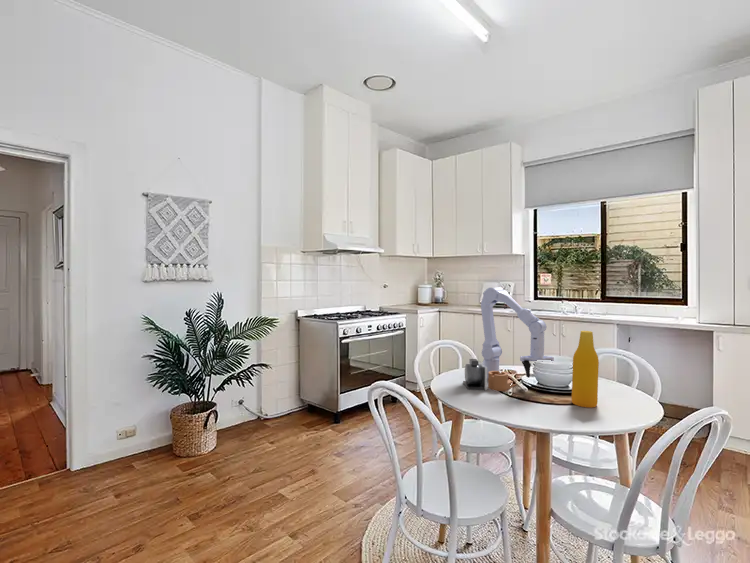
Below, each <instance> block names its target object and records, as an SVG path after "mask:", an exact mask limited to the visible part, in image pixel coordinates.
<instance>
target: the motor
mask: <svg viewBox="0 0 750 563" xmlns="http://www.w3.org/2000/svg"><path fill="white" fill-rule="evenodd" d="M462 384H463V385H464V386H465V387H466V389H467V390H469V391H470V390H471V391H472V390H475V391H476V390H478V391H480V390H482V391H483V390H484V391H487V390H488V379H487V367H486V366H485V365H484V364H483V361H480V360H478V359H477V358H469V362H468V363H466V364H465V366H464V380H463V382H462Z"/></svg>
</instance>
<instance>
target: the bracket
mask: <svg viewBox="0 0 750 563" xmlns="http://www.w3.org/2000/svg"><path fill="white" fill-rule="evenodd" d="M508 376H509V373H508V372H506V371H501V372H500V370H499V371H489V372H488V379H487V389H489V390H493V391H496V392H504V391H507V390H510V389H512V388H514V387H515V386H517V384H518V383H517V384H513V385H511V383H512V382H513V381H511V380H510V379H509V380H508ZM510 385H511V386H510Z"/></svg>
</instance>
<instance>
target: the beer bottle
mask: <svg viewBox="0 0 750 563" xmlns="http://www.w3.org/2000/svg"><path fill="white" fill-rule="evenodd" d="M593 333H594V332H593V331H592V330H591V331H590V330H580V333H579V341H578V346H577V348H576V349H575V352H574V354H573V355H572V356H573V357H572V377H571V378H572V379H571V380H572V381H571V402H572V404H573V405H575V406H578V407H581V408H591V409H592V408H595V407H597V405H598V402H599V401H598V400H599V397H598V394H599V392H598V391H599V369H600V368H599V365H600V360H599V356H598V353H597V351H596V349H595V344H594V334H593Z"/></svg>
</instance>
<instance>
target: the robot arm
mask: <svg viewBox="0 0 750 563" xmlns="http://www.w3.org/2000/svg"><path fill="white" fill-rule="evenodd" d="M482 294H483V296H482V299H481V302H480V310H481V317H482V319H481V320H482V325H483V326H482V327H483V328H482V329H483V335H484V341H483V344H482V349H481V356H482V357H483V361H482V363H483V364H484V365H485V366H486V367H487V380H488V372H489V371H499V372H500V357H501V356H502V354H503V349H502V348H501V346H500V341H499V340H498V339H497V334H496V332H497V331H496V325H495V324H496V323H495V318H494V316H495V315H494V309H493V308H494V306H495V305H496V304H497V303H498V302H500V303H505V305H507V306H508V307H509V308H511V310H513V311H514V312H515V313H516V314H517V318H518V319H519V320H520V321H521V322H522V323H523V324H525V326H526V327H527V328H528V330H529V332H530V350H529V354H530V355H520V357H519V360H520V362H521V363H522V365H523V367H524V370H525V375H526V377H527V378H529V379H530V377H531V376H530V375H531V365H532V364H531V363H530V362H538V361H537V360H551V361H554V362H555V358H554V357H553V356H548V355H547V356H546V355H545V332H546V330H547V324H546V322H545V321H544V320H543V319H540V318H539V317H537V316H536V315H534V314H533V312H532V310H531V309H530V308H529V309H528V308H525V307H524V308H523V307H522V306H521V305H520V304H519V303H518V301H516V300H515V299H514V298H513V297H512V296H511V295H510V293H508V291H507V290H505V289H504V288H503V287H501V286H496V287H488V288H486V290H484V292H483V293H482Z"/></svg>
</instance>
